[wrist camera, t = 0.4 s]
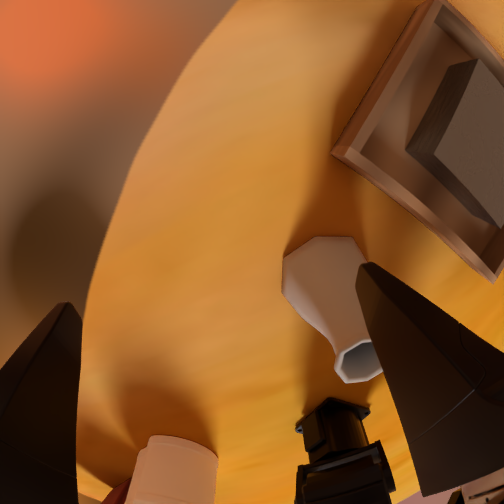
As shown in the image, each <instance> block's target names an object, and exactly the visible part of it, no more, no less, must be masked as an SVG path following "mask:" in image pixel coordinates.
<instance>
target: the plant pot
mask: <svg viewBox="0 0 504 504" xmlns="http://www.w3.org/2000/svg"><path fill="white" fill-rule="evenodd" d="M131 480H132V479H128V480H127V481H125V482H124V483H122V484H120V485H119V486H117V487H116V488H114V489H112V491H111V492H110V493H109V494H108V495H107V497H106V498H105V499H104V500H103V502H102V503H101V504H124V503H125V501H126V498H127V494H128V491H129V487H130V483H131Z"/></svg>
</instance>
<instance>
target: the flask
mask: <svg viewBox="0 0 504 504" xmlns="http://www.w3.org/2000/svg"><path fill="white" fill-rule="evenodd" d="M362 263H367V261H366V259H365V257H364V256H363V254H362V252H361V251H360V249H359V247H358V246H357V244H356V242H355V241H354V239H353V237H335V236H315V237H313V238H312V239H311V240H309V241H308V242H306V243H305V244H303V245H302V246H300V247H299V248H297V249H296V250H295V251H293V252H292V253H290V254H289V255H287V256H286V257H284V258H283V271H282V294H283V295H284V297H285V298H286V299H287V300H288V301H289V303H290V304H291V305H292V306H293V308H294V309H295V310H296V311H297V313H298V314H299V315H300V316H301V317H302V318H303V319H304V320H305V321H306V322H308V323H309V324H310V325H312V326H313V327H314V328H316V329H317V330H318V331H319V332H320V333H321V334H323V335H324V336H325V337H326V338H327V339H328V340H329V342H330V343H331V345H332V347H333V349H334V352H335V355H336V358H335V363H334V370H335V372H336V373H337V374H338V375H339V376H340V378H341V379H342V380H343V381H344V382H345V383H355V382H363V381H368V380H370V379H372V378H373V377H375V376H377V375H378V374H380V373H381V372H383V370H382V367H381V365H380V362H379V359H378V357H377V354H376V352H375V349H374V347H373V344H372V342H371V339H370V336H369V334H368V331H367V327H366V324H365V321H364V317H363V314H362V310H361V307H360V303H359V300H358V297H357V293H356V290H355V282H356V277H357V272H358V268H359V265H360V264H362Z"/></svg>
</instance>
